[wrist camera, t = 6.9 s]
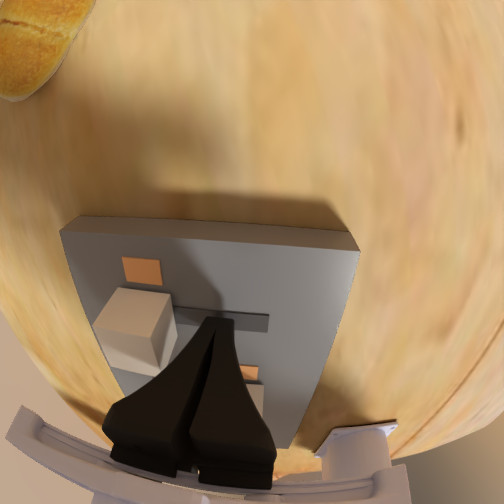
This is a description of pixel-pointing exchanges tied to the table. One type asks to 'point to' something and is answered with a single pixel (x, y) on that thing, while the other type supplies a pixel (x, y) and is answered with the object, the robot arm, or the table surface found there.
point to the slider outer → (137, 330)
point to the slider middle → (257, 395)
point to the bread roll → (36, 41)
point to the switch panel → (227, 294)
